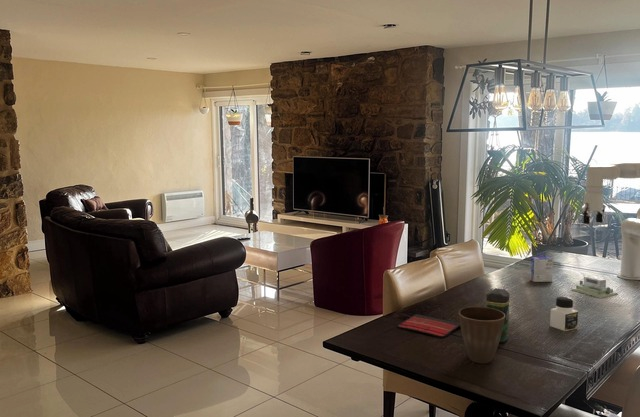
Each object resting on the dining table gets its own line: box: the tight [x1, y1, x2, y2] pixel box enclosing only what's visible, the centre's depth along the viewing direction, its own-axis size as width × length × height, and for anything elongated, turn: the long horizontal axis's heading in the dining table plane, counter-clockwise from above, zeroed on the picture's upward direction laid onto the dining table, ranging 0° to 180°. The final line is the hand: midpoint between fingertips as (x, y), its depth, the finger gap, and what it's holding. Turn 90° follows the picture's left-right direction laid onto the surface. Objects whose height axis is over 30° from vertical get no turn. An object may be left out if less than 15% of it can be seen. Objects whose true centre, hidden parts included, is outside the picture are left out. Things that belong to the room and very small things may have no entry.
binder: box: [397, 313, 461, 339], centre depth 220 cm, size 16×2×21 cm
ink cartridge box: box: [530, 252, 554, 283], centre depth 290 cm, size 10×6×14 cm, turn 89°
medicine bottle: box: [549, 295, 579, 332], centre depth 218 cm, size 7×7×12 cm
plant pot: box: [458, 306, 505, 364], centre depth 187 cm, size 15×15×16 cm
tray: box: [570, 280, 619, 299], centre depth 268 cm, size 12×16×4 cm
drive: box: [583, 275, 607, 291], centre depth 267 cm, size 4×9×6 cm, turn 26°
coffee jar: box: [485, 288, 511, 343], centre depth 206 cm, size 10×8×19 cm
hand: (592, 222), depth 286 cm, fingers open, 9 cm apart
